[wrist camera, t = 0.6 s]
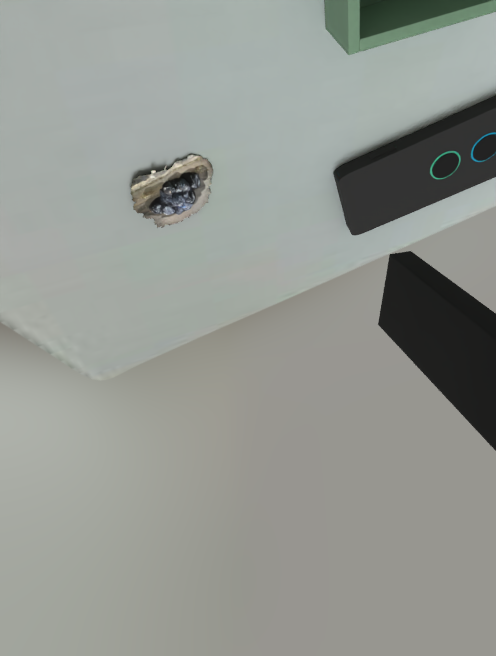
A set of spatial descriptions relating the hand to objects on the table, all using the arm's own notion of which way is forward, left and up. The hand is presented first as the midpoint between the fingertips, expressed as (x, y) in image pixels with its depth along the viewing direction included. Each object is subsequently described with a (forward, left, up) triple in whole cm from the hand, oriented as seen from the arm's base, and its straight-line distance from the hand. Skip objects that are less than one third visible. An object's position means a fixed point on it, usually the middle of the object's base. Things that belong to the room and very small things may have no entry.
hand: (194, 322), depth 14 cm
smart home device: (+19, +23, -28) cm, 41 cm away
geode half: (+13, -2, -28) cm, 31 cm away
